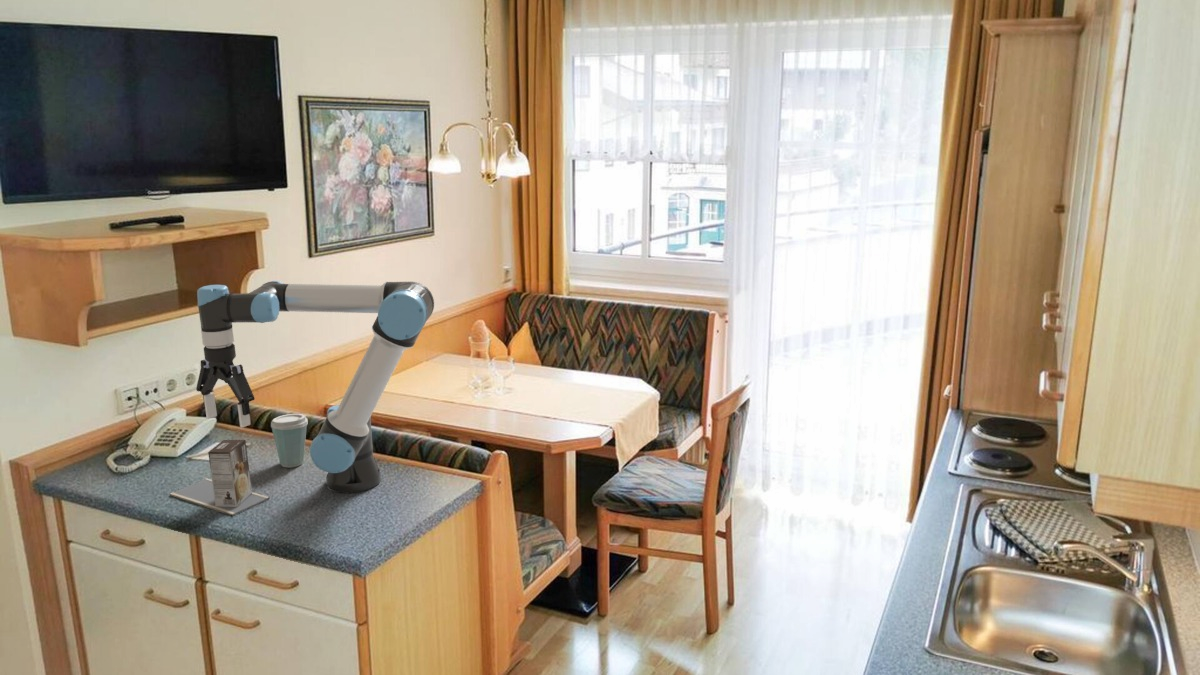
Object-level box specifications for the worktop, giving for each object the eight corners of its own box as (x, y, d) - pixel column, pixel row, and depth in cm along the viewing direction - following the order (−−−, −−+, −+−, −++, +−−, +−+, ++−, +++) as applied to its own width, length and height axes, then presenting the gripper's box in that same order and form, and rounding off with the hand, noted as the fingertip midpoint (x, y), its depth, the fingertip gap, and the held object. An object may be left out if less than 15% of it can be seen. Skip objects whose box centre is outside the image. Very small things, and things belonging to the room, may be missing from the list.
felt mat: (269, 499, 249) (269, 497, 249) (232, 516, 239) (232, 514, 239) (207, 480, 261) (206, 478, 261) (169, 495, 251) (169, 493, 251)
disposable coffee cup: (266, 465, 272) (261, 418, 268) (295, 454, 280) (291, 408, 277) (290, 473, 266) (286, 425, 262) (319, 461, 275) (315, 414, 271)
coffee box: (230, 492, 252) (223, 438, 248) (252, 493, 251) (246, 439, 247) (214, 507, 243) (207, 451, 239) (237, 507, 243) (230, 452, 238)
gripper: (263, 347, 232) (271, 425, 238) (200, 335, 245) (210, 409, 250) (238, 354, 226) (247, 434, 231) (175, 342, 238) (186, 417, 244)
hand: (228, 421), depth 241 cm, fingers open, 13 cm apart
